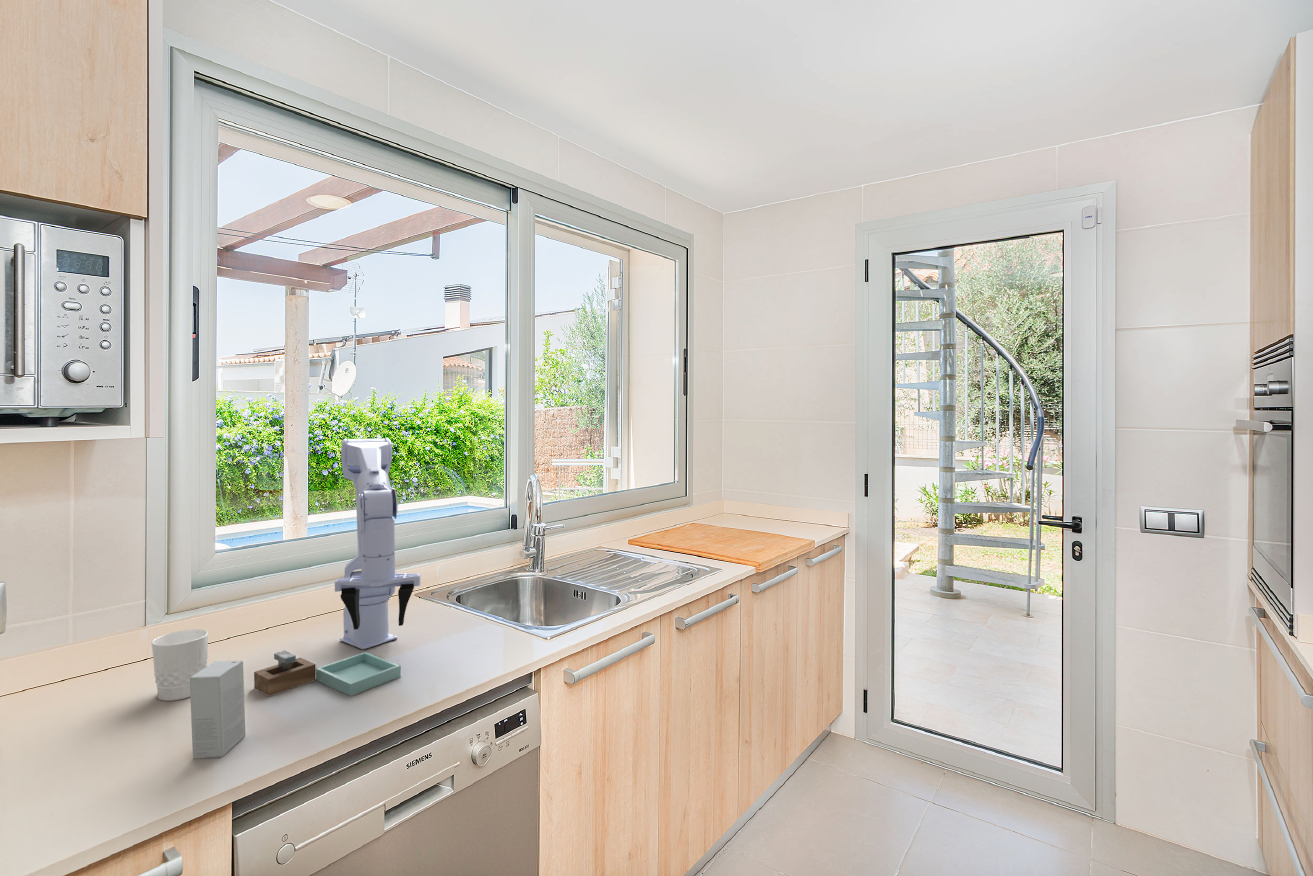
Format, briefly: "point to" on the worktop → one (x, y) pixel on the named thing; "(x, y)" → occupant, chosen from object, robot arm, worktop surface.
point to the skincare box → (217, 708)
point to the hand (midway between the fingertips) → (379, 625)
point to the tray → (358, 673)
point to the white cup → (178, 661)
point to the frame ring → (284, 677)
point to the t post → (284, 660)
